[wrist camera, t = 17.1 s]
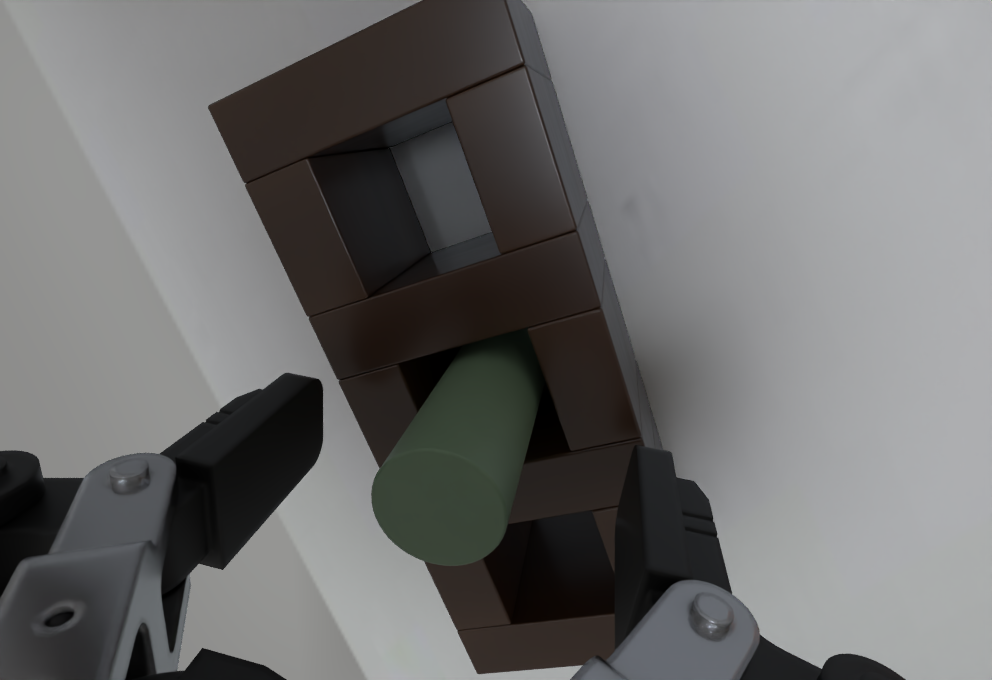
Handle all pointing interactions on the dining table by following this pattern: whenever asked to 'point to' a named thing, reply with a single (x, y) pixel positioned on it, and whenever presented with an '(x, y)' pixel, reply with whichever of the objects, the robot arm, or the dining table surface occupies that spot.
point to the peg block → (460, 292)
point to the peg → (463, 454)
